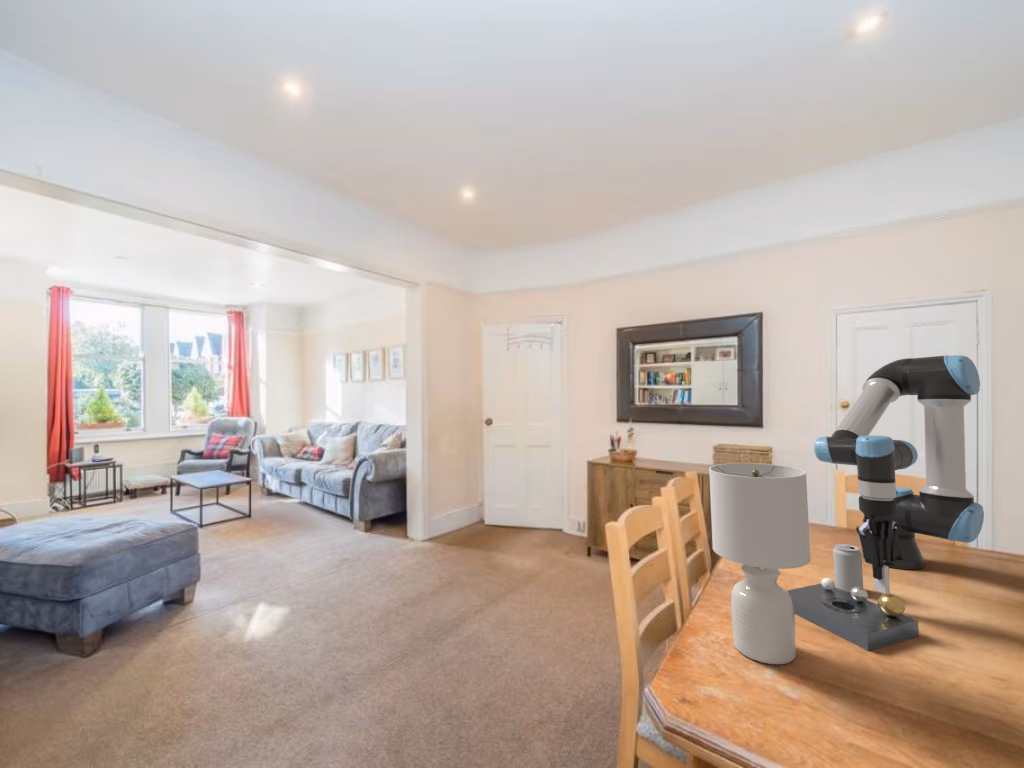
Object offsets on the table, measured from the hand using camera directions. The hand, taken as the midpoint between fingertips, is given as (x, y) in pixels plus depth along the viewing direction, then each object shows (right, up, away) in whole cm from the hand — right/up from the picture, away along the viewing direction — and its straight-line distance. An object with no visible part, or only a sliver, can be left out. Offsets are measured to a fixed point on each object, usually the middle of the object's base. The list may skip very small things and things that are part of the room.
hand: (881, 591), depth 114 cm
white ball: (-10, 0, +5) cm, 11 cm away
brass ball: (-6, +1, -10) cm, 11 cm away
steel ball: (-8, 0, -2) cm, 8 cm away
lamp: (-38, -6, -15) cm, 42 cm away
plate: (-13, -5, -4) cm, 14 cm away
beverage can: (0, -5, +11) cm, 13 cm away
